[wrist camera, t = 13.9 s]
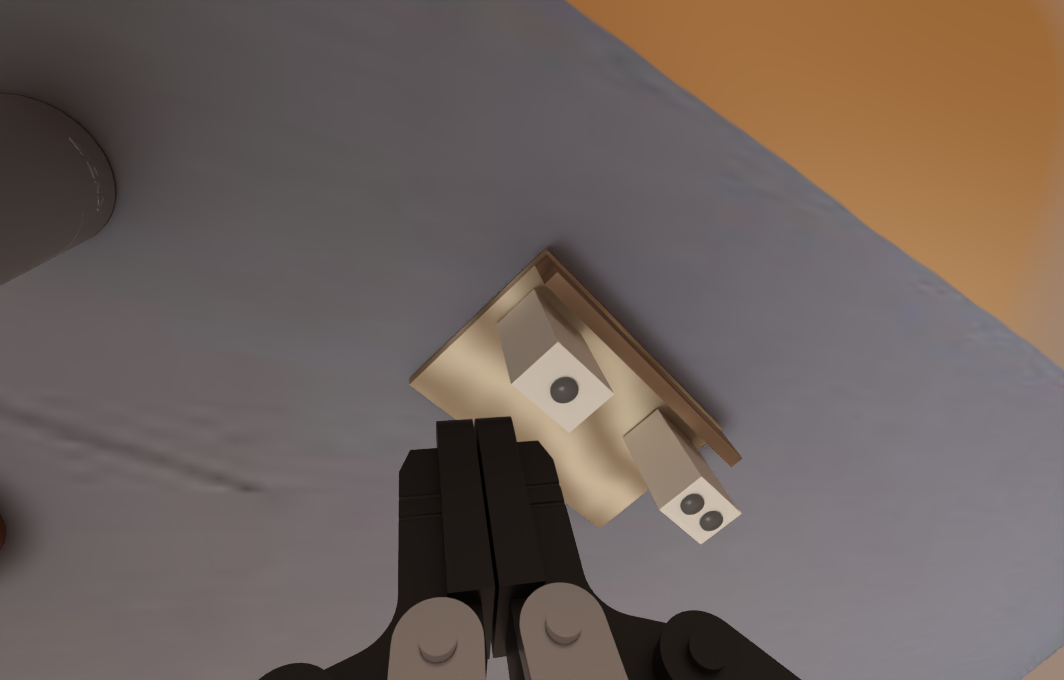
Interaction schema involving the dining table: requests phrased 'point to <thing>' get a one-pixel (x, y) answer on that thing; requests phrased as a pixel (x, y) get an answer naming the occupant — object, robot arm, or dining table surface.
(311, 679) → the robot arm
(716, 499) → the key two
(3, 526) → the food container
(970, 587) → the dining table surface
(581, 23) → the dining table surface
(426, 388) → the console
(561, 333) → the key one
